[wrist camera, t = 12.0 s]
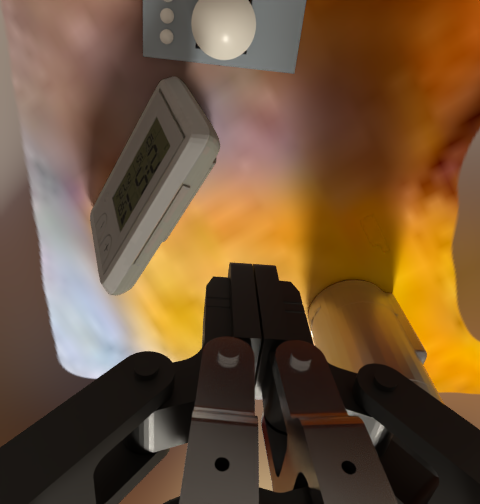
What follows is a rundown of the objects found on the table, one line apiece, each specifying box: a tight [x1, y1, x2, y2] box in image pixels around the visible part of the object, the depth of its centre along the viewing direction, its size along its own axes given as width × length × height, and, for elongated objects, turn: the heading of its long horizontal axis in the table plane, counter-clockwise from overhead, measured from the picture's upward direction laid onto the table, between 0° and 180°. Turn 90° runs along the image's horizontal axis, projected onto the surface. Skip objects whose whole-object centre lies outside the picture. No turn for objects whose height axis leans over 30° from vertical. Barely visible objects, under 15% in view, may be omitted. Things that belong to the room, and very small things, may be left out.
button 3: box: [191, 0, 256, 60], centre depth 32 cm, size 5×5×3 cm
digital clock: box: [90, 76, 220, 295], centre depth 36 cm, size 16×9×11 cm, turn 135°
